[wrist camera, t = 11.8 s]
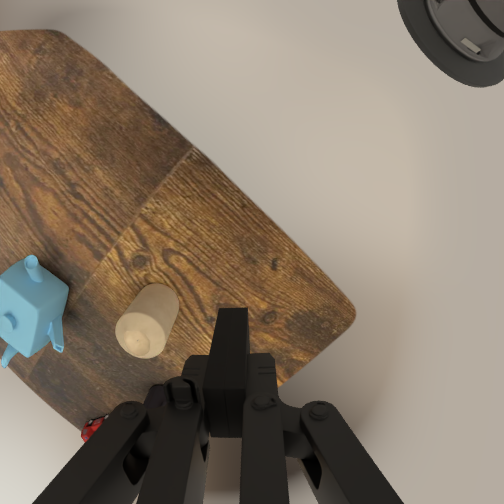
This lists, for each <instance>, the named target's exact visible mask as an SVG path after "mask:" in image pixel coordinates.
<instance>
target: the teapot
mask: <svg viewBox="0 0 504 504" xmlns="http://www.w3.org/2000/svg"><path fill="white" fill-rule="evenodd" d="M68 291H69V288H68V286H67V285H66V284H65V283H64V282H62V281H61V280H60V279H58V278H57V277H56V276H54V275H53V274H52V273H50V272H49V271H48V270H46V269H45V268H43V267H42V266H41V265H39V262H38V259H37V257H36V256H34V255H29V256H27V257H26V258H25V259H22V260H20V261H18V262H17V263H15V264H14V265H12V266H11V267H10V268H8V269H7V270H6V271H5V272H4V273H3V274H1V275H0V337H1V338H2V339H4V340H5V341H6V342H7V343H8V346H7V348H6V350H5V352H4V354H3V357H2V360H1V364H2V367H3V368H6V367H7V365H8V363H9V361H10V359H11V358H12V357H13V356H14V355H15V354H16V353H18V352H20V353H21V354H23V355H24V356H25V357H27V358H28V357H30V356H32V355H33V354H35V353H36V352H37V351H39V350H40V349H42V348H43V347H44V346H45V345H46V344H48V343H49V342H50V341H51V342H52V345H53V349H55V350H57V351H60V352H63V348H64V341H63V329H62V316H63V312H64V309H65V305H66V301H67V296H68Z"/></svg>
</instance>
